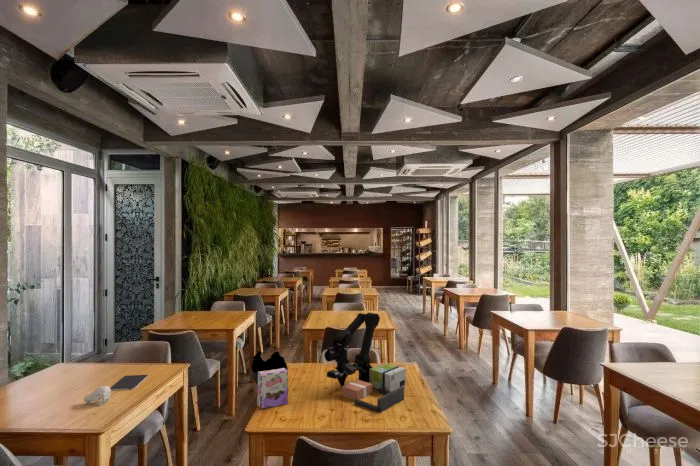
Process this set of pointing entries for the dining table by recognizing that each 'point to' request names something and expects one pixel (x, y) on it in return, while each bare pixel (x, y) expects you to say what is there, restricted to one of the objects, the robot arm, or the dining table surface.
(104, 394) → the grey rounded lump
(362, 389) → the carton
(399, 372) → the tea box
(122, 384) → the notebook
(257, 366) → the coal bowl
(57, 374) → the dining table surface
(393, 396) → the display stand
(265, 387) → the candy box
